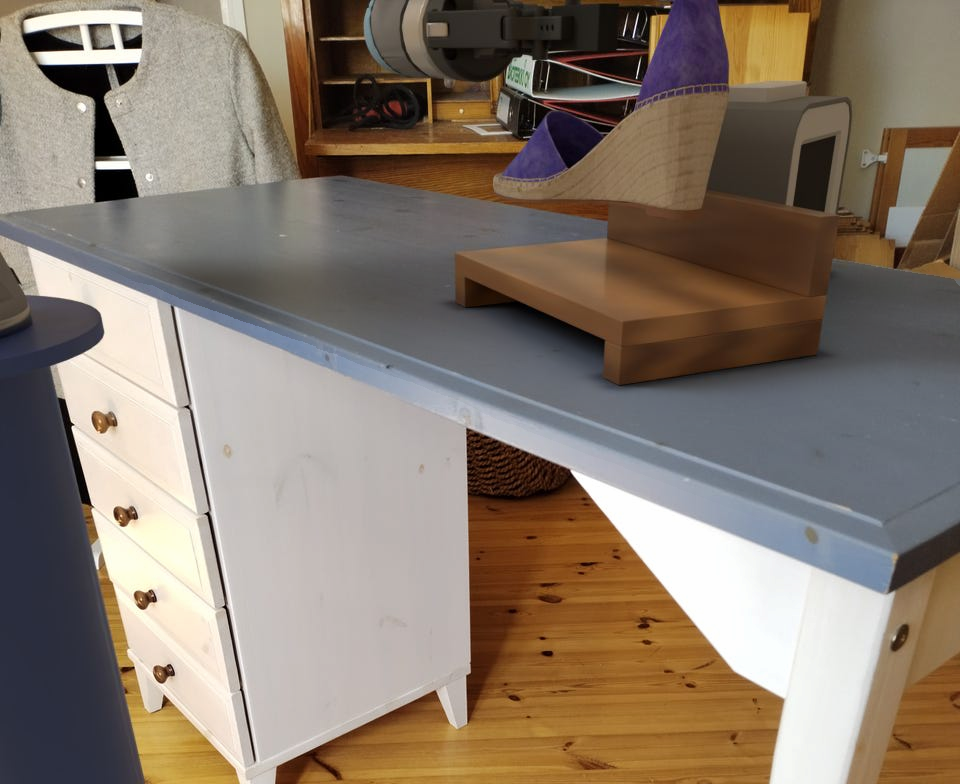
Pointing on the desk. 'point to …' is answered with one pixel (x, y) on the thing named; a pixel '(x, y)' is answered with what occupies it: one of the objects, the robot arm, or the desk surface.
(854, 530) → the desk surface
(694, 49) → the sandal
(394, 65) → the robot arm
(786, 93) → the alarm clock
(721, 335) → the shoe rack
